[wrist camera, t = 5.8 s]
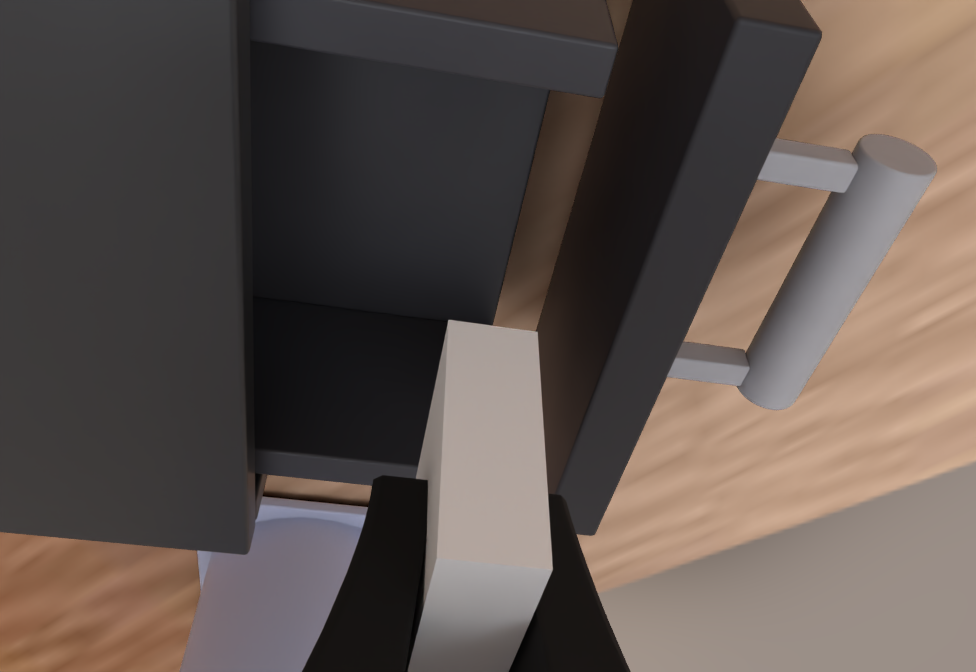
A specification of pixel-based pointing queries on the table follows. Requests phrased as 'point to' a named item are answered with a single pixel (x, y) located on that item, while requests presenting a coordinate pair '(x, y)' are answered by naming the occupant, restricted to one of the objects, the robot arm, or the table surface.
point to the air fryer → (127, 273)
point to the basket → (496, 209)
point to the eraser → (482, 503)
